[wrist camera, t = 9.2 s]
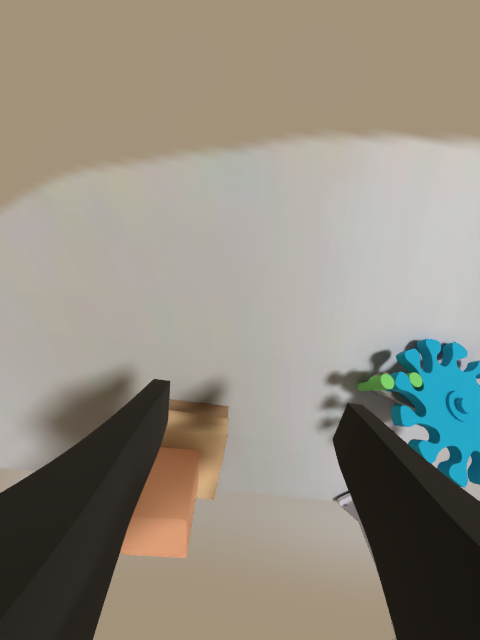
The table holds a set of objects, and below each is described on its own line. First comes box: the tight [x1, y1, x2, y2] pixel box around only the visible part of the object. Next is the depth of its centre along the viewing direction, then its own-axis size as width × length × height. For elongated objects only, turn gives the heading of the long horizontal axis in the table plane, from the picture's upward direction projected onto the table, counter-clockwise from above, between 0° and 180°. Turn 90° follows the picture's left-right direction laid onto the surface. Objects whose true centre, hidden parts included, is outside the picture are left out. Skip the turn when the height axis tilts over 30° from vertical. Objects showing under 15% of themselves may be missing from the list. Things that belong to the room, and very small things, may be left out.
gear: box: [357, 339, 480, 487], centre depth 19 cm, size 11×6×10 cm
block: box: [121, 447, 199, 558], centre depth 18 cm, size 4×4×5 cm
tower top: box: [161, 410, 229, 500], centre depth 22 cm, size 8×8×2 cm
